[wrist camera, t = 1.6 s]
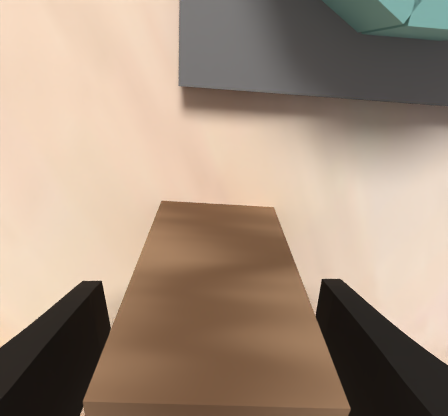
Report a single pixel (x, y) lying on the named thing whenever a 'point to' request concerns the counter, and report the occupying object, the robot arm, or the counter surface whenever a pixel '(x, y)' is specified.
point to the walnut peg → (215, 324)
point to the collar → (318, 48)
